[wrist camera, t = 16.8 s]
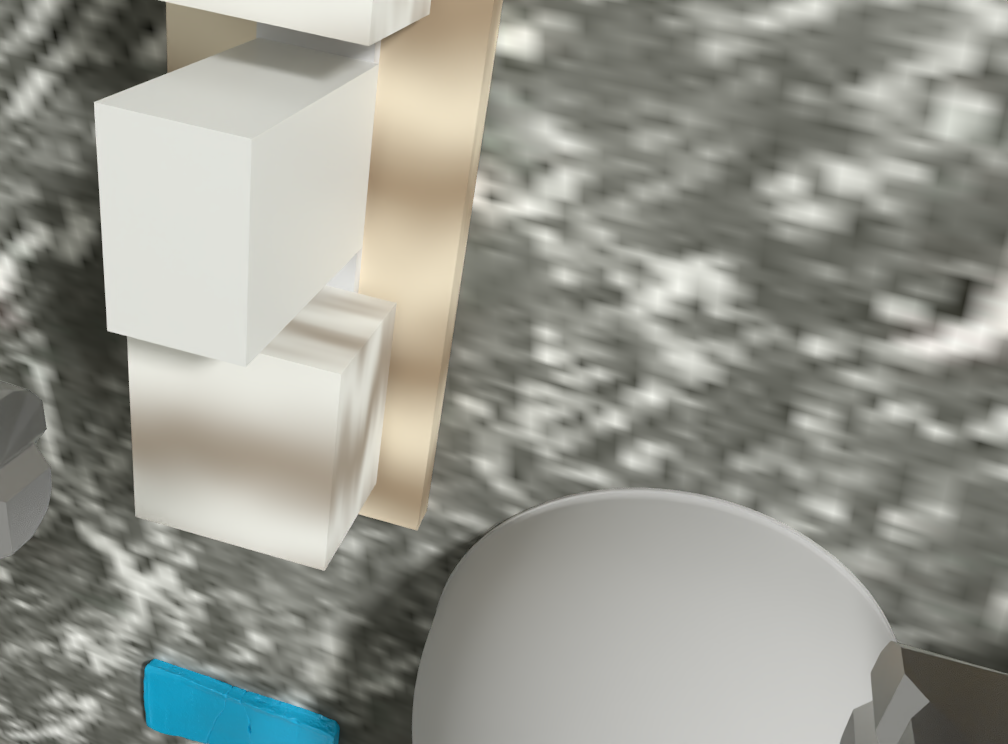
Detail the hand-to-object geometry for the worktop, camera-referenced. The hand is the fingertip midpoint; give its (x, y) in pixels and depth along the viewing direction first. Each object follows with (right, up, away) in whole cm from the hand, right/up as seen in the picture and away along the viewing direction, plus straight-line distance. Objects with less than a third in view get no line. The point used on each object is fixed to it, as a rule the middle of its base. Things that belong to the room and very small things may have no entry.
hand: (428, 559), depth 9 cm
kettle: (+9, -14, +39) cm, 42 cm away
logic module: (-6, +10, +27) cm, 29 cm away
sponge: (-14, -18, +48) cm, 53 cm away
